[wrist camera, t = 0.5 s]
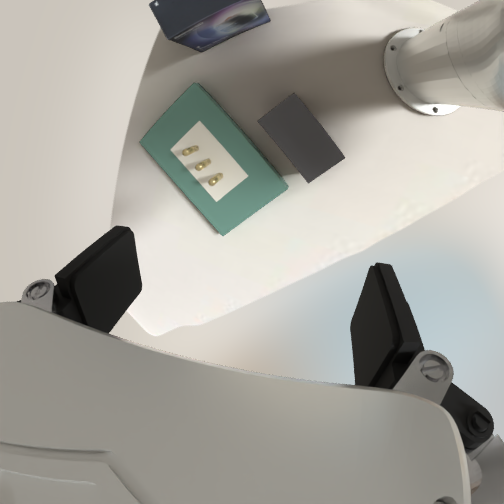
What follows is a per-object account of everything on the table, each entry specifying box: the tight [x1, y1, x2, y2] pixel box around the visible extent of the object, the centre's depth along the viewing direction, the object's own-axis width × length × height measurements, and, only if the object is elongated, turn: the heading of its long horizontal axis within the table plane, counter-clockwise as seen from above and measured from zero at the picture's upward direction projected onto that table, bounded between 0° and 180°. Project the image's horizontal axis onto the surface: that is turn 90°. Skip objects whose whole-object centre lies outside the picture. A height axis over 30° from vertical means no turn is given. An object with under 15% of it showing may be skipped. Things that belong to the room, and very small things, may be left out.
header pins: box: [182, 145, 223, 186], centre depth 35 cm, size 1×6×4 cm, turn 41°
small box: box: [149, 0, 271, 52], centre depth 23 cm, size 11×6×10 cm, turn 115°
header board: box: [140, 83, 288, 236], centre depth 37 cm, size 12×19×2 cm, turn 41°
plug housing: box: [258, 93, 345, 183], centre depth 31 cm, size 5×9×6 cm, turn 41°
